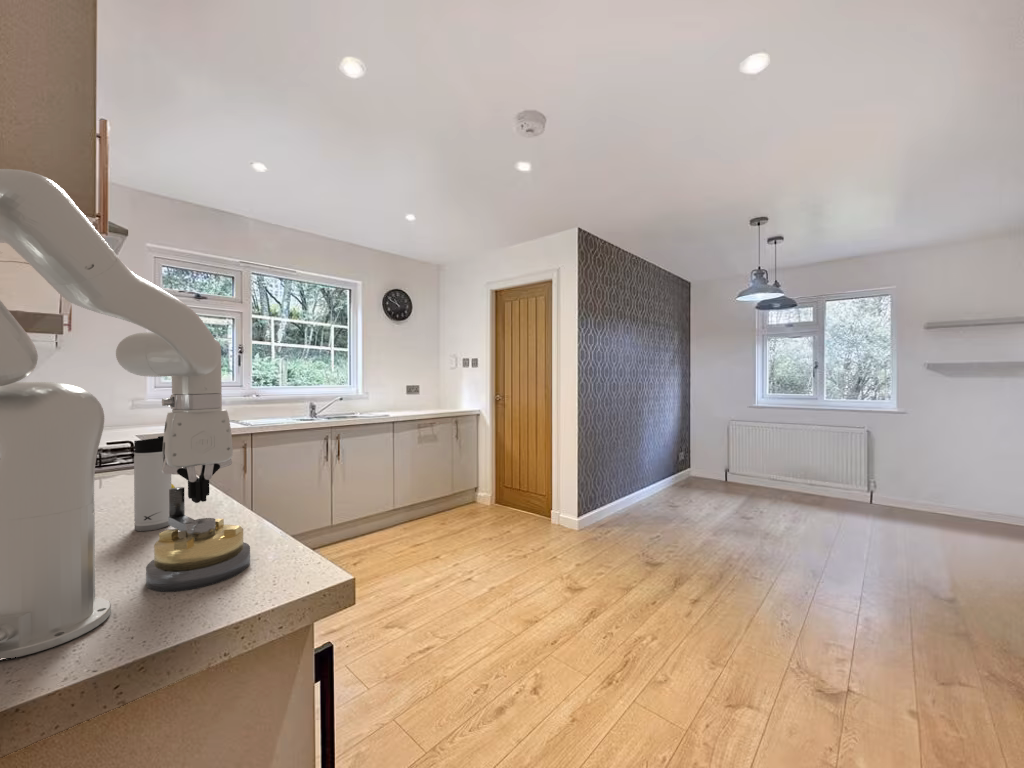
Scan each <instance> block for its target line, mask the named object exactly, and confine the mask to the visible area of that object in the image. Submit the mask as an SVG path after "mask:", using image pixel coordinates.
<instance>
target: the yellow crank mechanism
mask: <svg viewBox="0 0 1024 768" xmlns="http://www.w3.org/2000/svg"><path fill="white" fill-rule="evenodd" d="M185 507H186V506H185V487H183V486H177V487H175V488H171V489H169V516H168V525H169V526H170V527H172V529H165V530H163V531H161V532H159V534H158V536H159V537H158V540H157V541H156V542H155V543H154V545H153V549H154V550H153V553H154V555H153V557H154V558H153V560H154V565H155V567H156V568H158V569H162V570H185V569H193V568H198V567H203V566H207V565H211V564H215V563H218V562H221V561H224V560H226V559H229V558H231V557H233V556H235V555H237V554H238V553H240V552H241V551H242V549H243V542H244V527H242V525H236V524H225V523H224V522H225V518H215V517H204V518H197V519H194V518H191V517H190V516H188V515H185V511H186V510H185V509H186V508H185ZM173 528H174V529H173Z"/></svg>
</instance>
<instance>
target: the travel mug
mask: <svg viewBox="0 0 1024 768" xmlns="http://www.w3.org/2000/svg"><path fill="white" fill-rule="evenodd" d="M163 438H164V435H161V436H157V437H156V438H147V439H139V440H134V445H133V446H134V451H133V455H134V456H133V474H134V475H133V480H134V482H133V484H134V485H133V486H134V488H133V491H134V492H133V496H134V498H133V499H134V500H133V501H134V502H133V503H134V504H133V505H134V507H133V508H134V509H133V510H134V512H133V513H134V514H133V515H134V530H135V531H136V532H151V531H155V530H160V529H161V530H162V529H163V528H167V527H168V526H170V525H168V516H169V489H171V484H172V474H164V473H163V472H162V467H163V464H164V462H163Z"/></svg>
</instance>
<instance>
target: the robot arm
mask: <svg viewBox="0 0 1024 768" xmlns="http://www.w3.org/2000/svg"><path fill="white" fill-rule="evenodd" d="M2 243H5V244H7V245H8V246H10V247H11V248H12V249H13V250H14V251H15V252H16V253H17V254H18V255H19V256H21V257H22V259H24V260H25V261H26V263H28V264H29V265H30V266H31V267H32V269H33V270H35V271H36V273H38V274H39V275H40V276H41V277H42V278H43V279H44V280H45V281H46V282H47V283H48V284H49V285H50V286H51V287H52V288H53V289H54V290H55V291H56V292H57V293H58V294H59V295H60V296H61V297H62V298H63V299H64V300H66V301H67V302H69V303H70V304H73V305H75V306H78V307H81V308H83V309H86V310H89V311H91V312H94V313H98V314H100V315H105V316H108V317H111V318H115V319H119V320H123V321H126V322H128V323H132V324H135V325H137V326H139V327H141V328H144V329H146V330H148V331H149V332H146V331H145V332H138V333H134V334H131V335H128V336H126V337H124V338H123V339H122V340H121V341H120V342H119V343H118V344H117V345H116V346H117V347H116V350H115V358H116V360H117V363H118V365H120V366H121V368H123V370H125V371H127V372H128V373H130V374H133V375H136V376H141V377H151V378H152V377H153V378H154V377H155V378H156V377H157V378H158V377H161V378H162V377H165V378H166V377H171V394H170V396H169V397H167V398H165V397H164V398H162V399H161V405H162V407H169V408H170V409H171V411H168V412H167V414H166V418H165V425H164V429H163V436H164V438H163V462H164V464H163V467H162V472H163V473H164V474H171V475H175V476H176V475H179V476H180V477H181V478H184V480H186V481H187V496H188V499H191V502H193V503H194V504H200V502H202V503H205V502H206V501H207V496H209V495H210V480H211V479H212V477H213V476H214V474H215V473H216V472H218V471H219V470H220V469H223V468H226V467H228V466H230V465H231V466H232V464H233V461H232V458H233V454H234V449H233V447H234V446H233V438H232V437H233V435H232V428H231V422H230V416H229V413H228V410H227V409H223V406H222V405H223V394H222V393H223V392H222V390H223V389H222V347H221V344H220V342H219V341H218V340H217V339H215V336H213V334H212V332H211V331H210V329H209V328H208V326H206V324H205V323H204V321H203V320H202V318H200V316H199V315H198V314H197V313H196V311H194V310H193V309H192V308H191V307H190V306H188V305H187V304H186V303H185V302H183V301H182V300H181V299H179V298H177V297H176V296H174V295H172V294H170V293H169V292H167V291H166V290H164V289H163V288H161V287H159V286H157V285H156V284H154V283H152V282H150V281H149V280H147V279H145V278H143V277H141V276H139V275H137V274H135V273H134V272H133V271H132V270H131V269H129V267H128V266H127V265H126V264H125V263H124V262H123V261H122V259H121V258H120V257H119V255H118V254H117V253H116V252H115V251H114V249H113V248H112V247H111V246H110V244H109V243H108V242H107V241H106V240H105V238H103V236H102V235H101V234H100V232H99V231H98V230H97V229H96V227H95V226H94V225H93V223H92V222H91V221H90V220H89V219H88V218H87V217H86V215H85V214H84V213H83V212H82V211H81V209H80V208H79V207H78V205H76V203H75V202H74V201H73V199H72V198H71V197H70V196H69V195H68V193H67V192H66V191H65V190H64V189H63V188H62V187H61V186H60V185H58V184H57V183H56V182H54V181H53V180H52V179H50V178H48V177H47V176H44V175H42V174H39V173H35V172H33V171H29V170H24V169H11V168H0V244H2ZM38 359H39V356H38V351H37V348H36V345H35V344H34V341H33V340H32V339H31V337H30V336H29V335H28V333H27V332H26V330H25V329H24V328H23V326H22V325H21V324H20V323H19V322H18V320H17V319H16V318H15V317H14V315H13V314H12V313H11V311H10V310H9V309H8V308H7V307H6V306H5V304H4V303H3V302H2V301H1V300H0V659H1V658H11V659H16V658H21V657H25V656H28V655H31V654H32V655H33V654H37V653H40V652H42V651H45V650H48V649H52V648H53V647H58V646H59V645H63V644H65V643H67V642H70V641H72V640H74V639H76V638H79V637H81V636H83V635H85V634H86V633H88V632H91V631H92V630H94V629H96V628H97V627H99V625H102V623H104V622H105V621H106V620H107V618H109V616H110V615H111V613H112V603H111V601H109V600H108V599H106V598H102V597H96V555H95V554H96V548H95V547H96V546H95V545H96V542H95V541H96V535H95V533H96V532H95V529H96V526H95V522H96V521H95V518H96V517H95V474H96V473H95V472H96V471H95V470H96V462H97V455H98V451H99V446H100V444H101V439H102V436H103V432H104V426H105V412H104V408H103V406H102V404H101V402H100V400H99V399H98V398H97V397H96V396H95V395H94V394H92V393H91V392H89V391H88V390H85V389H84V388H82V387H79V386H75V385H73V384H69V383H68V384H67V383H61V382H51V381H50V382H49V381H21V380H23V379H25V378H26V377H28V376H29V375H30V374H32V373H33V372H34V370H35V368H36V367H37V364H38ZM195 466H197V467H198V466H201V468H200V473H199V476H197V471H196V467H195ZM15 657H16V658H15Z"/></svg>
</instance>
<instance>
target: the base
mask: <svg viewBox="0 0 1024 768" xmlns="http://www.w3.org/2000/svg"><path fill="white" fill-rule="evenodd" d="M250 564H251V546H250V545H249V544H248V543H247V542H244V541H243V549H242V551H241V552H240V553H238V554H237V555H235V556H233V557H231V558H229V559H226V560H224V561H221V562H218V563H215V564H211V565H207V566H203V567H198V568H193V569H185V570H162V569H158V568H156V567H155V565H154V559H152V560H151V561H150V562H148V563H147V565H146V567H145V585H146V587H147V588H148V589H149V590H151V591H154V592H155V591H156V592H161V593H162V592H166V593H168V592H169V593H170V592H171V593H172V592H182V591H190V590H195V589H199V588H200V589H201V588H204V587H208V586H212V585H215V584H217V583H221V582H224V581H226V580H229V579H232V578H233V577H235V576H237V575H239V574H241V573H242V572H244V571H245V570H246V569H248V567H249V566H250Z"/></svg>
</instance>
